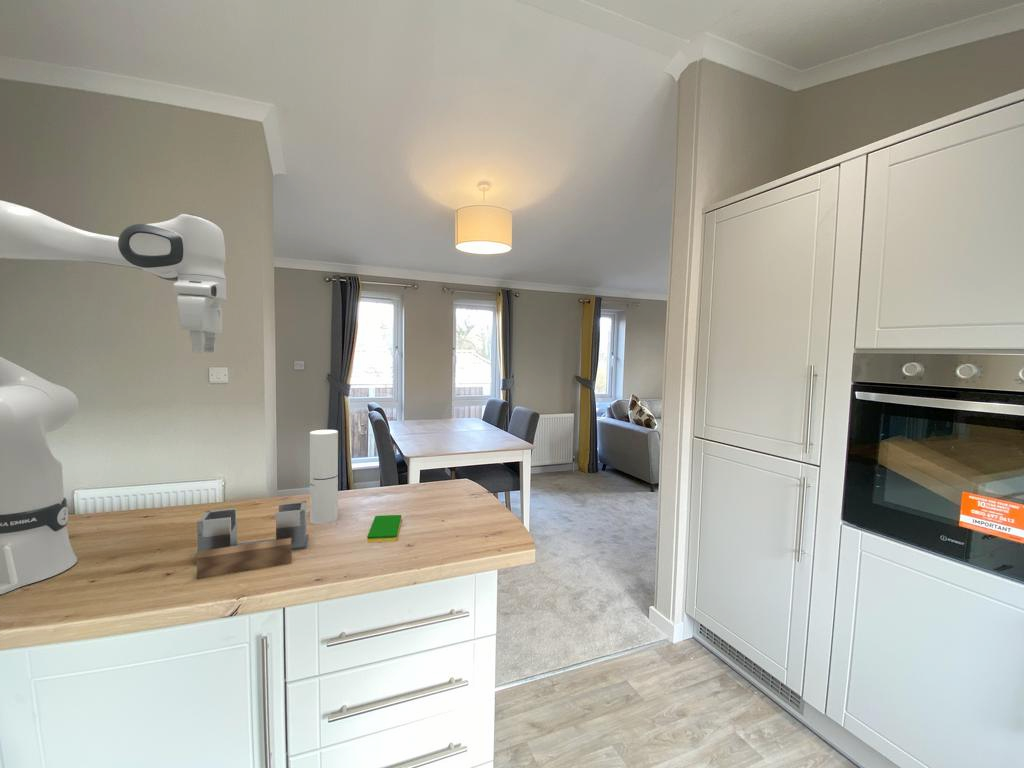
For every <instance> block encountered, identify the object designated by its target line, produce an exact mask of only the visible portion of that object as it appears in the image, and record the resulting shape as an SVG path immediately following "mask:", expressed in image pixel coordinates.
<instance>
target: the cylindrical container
mask: <svg viewBox="0 0 1024 768" xmlns="http://www.w3.org/2000/svg"><path fill="white" fill-rule="evenodd" d="M338 519H339V431H338V430H337V429H319V430H318V429H317V430H312V431H310V432H309V522H310V524H312V525H326V524H331V523H334V522H336V521H337V520H338Z"/></svg>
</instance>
